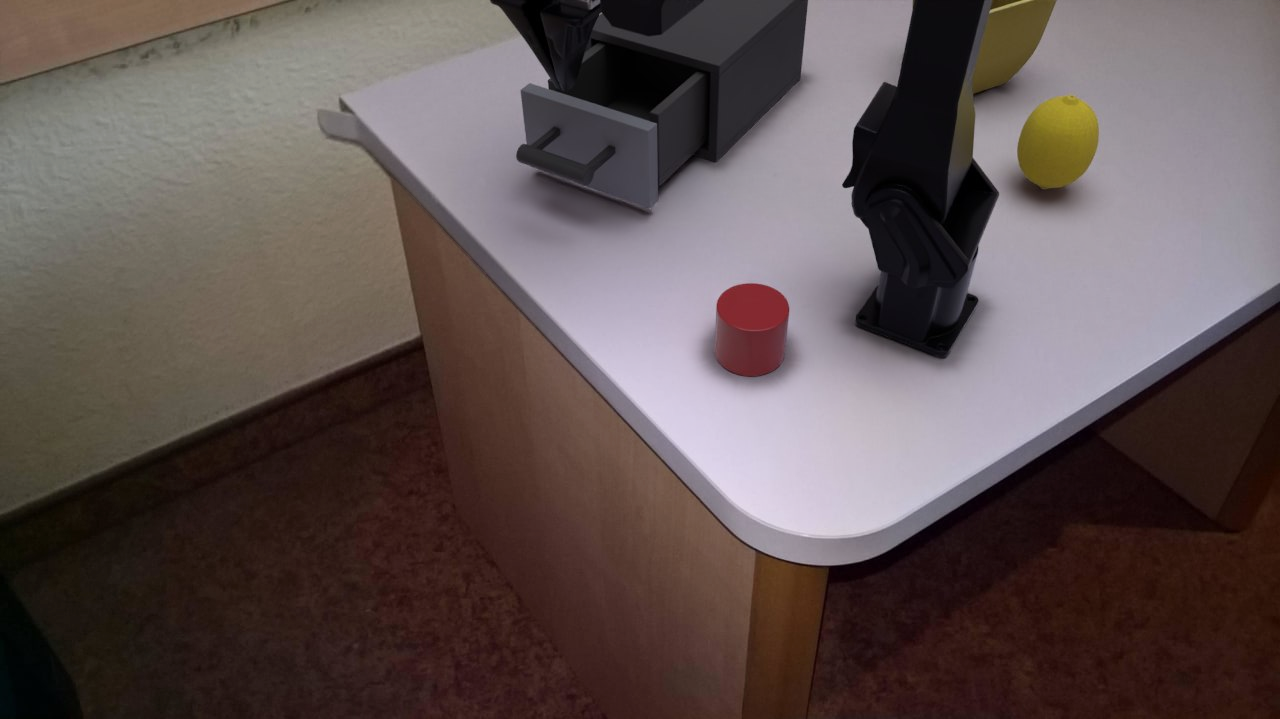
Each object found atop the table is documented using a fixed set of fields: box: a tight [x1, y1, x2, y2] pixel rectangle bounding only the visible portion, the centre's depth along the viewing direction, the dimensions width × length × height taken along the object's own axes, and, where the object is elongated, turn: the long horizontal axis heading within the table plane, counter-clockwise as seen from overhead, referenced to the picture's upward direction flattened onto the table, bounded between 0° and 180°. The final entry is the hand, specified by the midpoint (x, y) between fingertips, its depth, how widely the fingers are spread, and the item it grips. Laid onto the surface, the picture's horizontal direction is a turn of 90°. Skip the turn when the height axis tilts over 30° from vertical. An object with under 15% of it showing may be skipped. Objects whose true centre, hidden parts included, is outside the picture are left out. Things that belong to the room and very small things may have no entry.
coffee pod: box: [714, 282, 790, 377], centre depth 66 cm, size 5×5×4 cm
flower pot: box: [912, 0, 1058, 95], centre depth 89 cm, size 9×9×9 cm
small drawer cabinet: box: [585, 0, 809, 163], centre depth 88 cm, size 16×13×9 cm
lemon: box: [1016, 94, 1100, 190], centre depth 77 cm, size 6×6×8 cm
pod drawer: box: [516, 41, 711, 210], centre depth 80 cm, size 19×11×7 cm, turn 148°
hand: (566, 87), depth 71 cm, fingers closed
